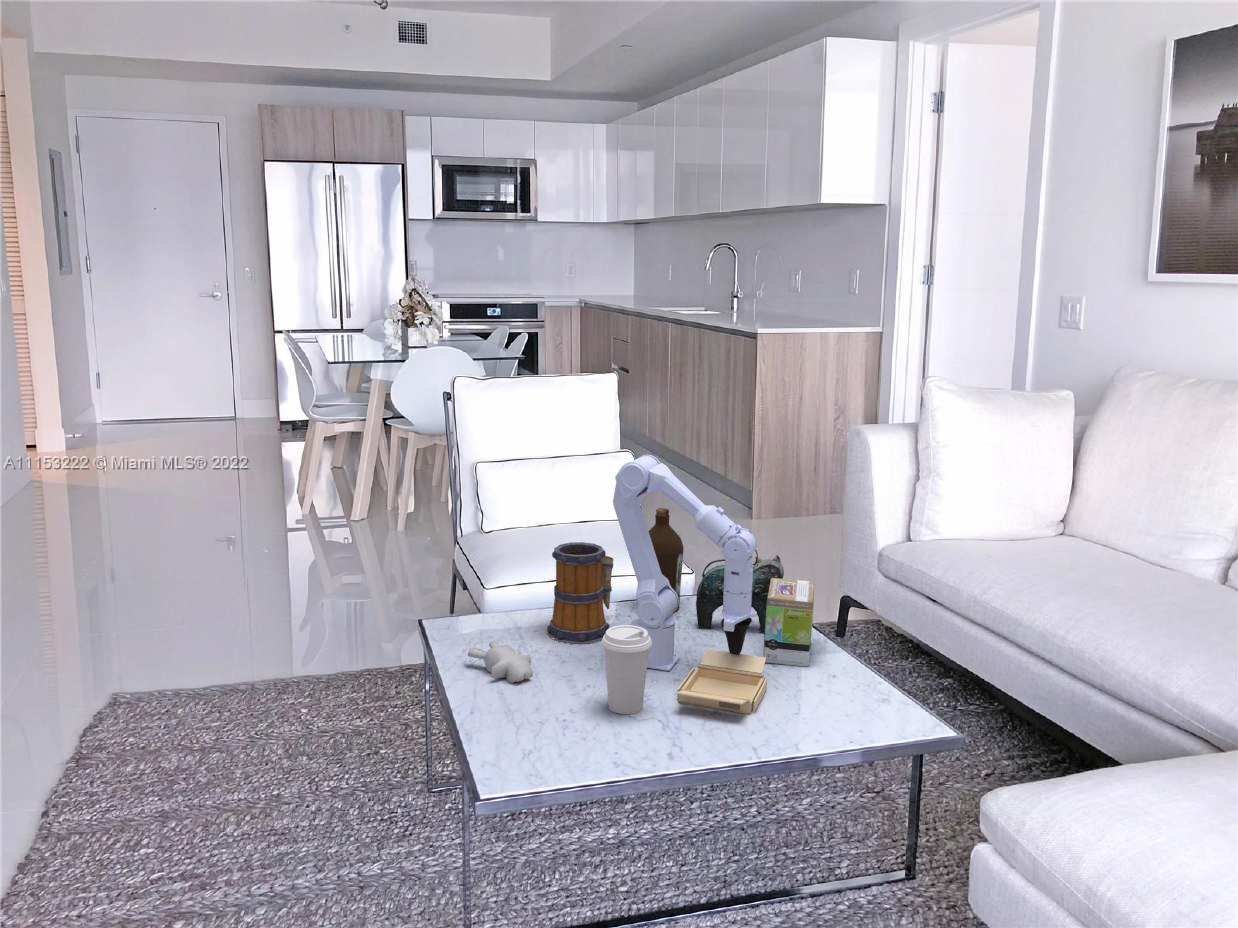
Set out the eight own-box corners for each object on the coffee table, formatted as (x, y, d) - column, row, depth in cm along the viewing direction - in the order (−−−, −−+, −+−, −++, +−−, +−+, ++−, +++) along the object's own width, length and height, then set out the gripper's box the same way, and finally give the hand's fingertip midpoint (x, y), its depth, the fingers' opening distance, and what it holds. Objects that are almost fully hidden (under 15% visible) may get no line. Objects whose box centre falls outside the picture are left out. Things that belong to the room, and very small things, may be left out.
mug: (585, 611, 242) (586, 532, 238) (634, 625, 233) (636, 542, 229) (533, 634, 226) (533, 550, 222) (584, 649, 218) (584, 561, 214)
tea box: (810, 667, 210) (814, 601, 207) (762, 663, 212) (765, 597, 209) (811, 642, 224) (814, 579, 222) (766, 638, 226) (769, 576, 223)
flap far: (700, 663, 204) (706, 648, 207) (700, 665, 204) (706, 649, 207) (761, 673, 199) (766, 657, 203) (761, 674, 200) (766, 658, 203)
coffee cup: (614, 721, 184) (615, 645, 181) (592, 701, 192) (592, 627, 189) (659, 711, 188) (661, 636, 185) (635, 692, 196) (637, 620, 193)
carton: (675, 702, 192) (675, 688, 192) (693, 676, 204) (694, 663, 204) (753, 715, 187) (754, 701, 187) (767, 687, 199) (768, 674, 199)
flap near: (682, 691, 191) (676, 694, 187) (682, 690, 191) (676, 692, 187) (746, 702, 187) (742, 704, 183) (746, 700, 187) (742, 703, 183)
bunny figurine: (507, 671, 196) (463, 641, 206) (505, 694, 197) (462, 664, 207) (544, 659, 202) (500, 630, 212) (542, 681, 204) (498, 652, 214)
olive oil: (638, 614, 240) (640, 514, 235) (638, 600, 251) (640, 503, 246) (682, 615, 240) (685, 515, 235) (681, 601, 250) (683, 504, 245)
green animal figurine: (780, 627, 233) (785, 545, 229) (781, 637, 227) (785, 553, 223) (696, 622, 236) (698, 540, 232) (694, 631, 230) (696, 548, 226)
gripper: (749, 603, 194) (746, 668, 196) (764, 581, 207) (761, 643, 210) (714, 598, 196) (712, 663, 199) (731, 577, 209) (728, 638, 212)
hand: (735, 652), depth 204 cm, fingers closed
